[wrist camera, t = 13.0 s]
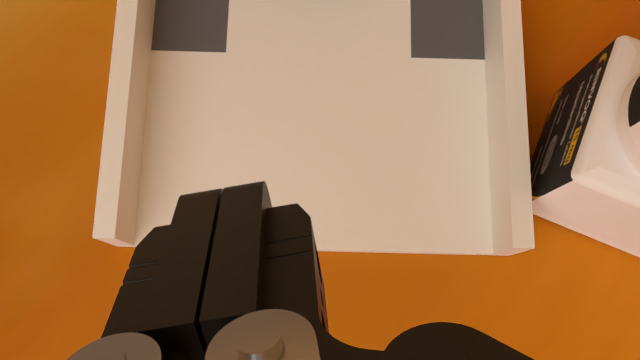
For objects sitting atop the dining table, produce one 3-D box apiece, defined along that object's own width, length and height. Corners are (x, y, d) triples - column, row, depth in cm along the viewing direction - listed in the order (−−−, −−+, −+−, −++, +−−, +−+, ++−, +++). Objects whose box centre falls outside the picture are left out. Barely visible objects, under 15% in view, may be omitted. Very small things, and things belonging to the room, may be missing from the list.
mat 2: (409, 62, 33) (411, 57, 32) (408, -36, 34) (409, -42, 33) (481, 64, 33) (484, 59, 32) (477, -34, 34) (480, -40, 34)
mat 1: (154, 55, 33) (151, 50, 32) (162, -43, 34) (160, -50, 33) (227, 57, 33) (225, 52, 32) (233, -41, 34) (231, -48, 33)
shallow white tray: (117, 246, 30) (92, 237, 27) (157, -171, 36) (140, -223, 32) (508, 255, 31) (534, 248, 27) (489, -159, 36) (508, -211, 32)
